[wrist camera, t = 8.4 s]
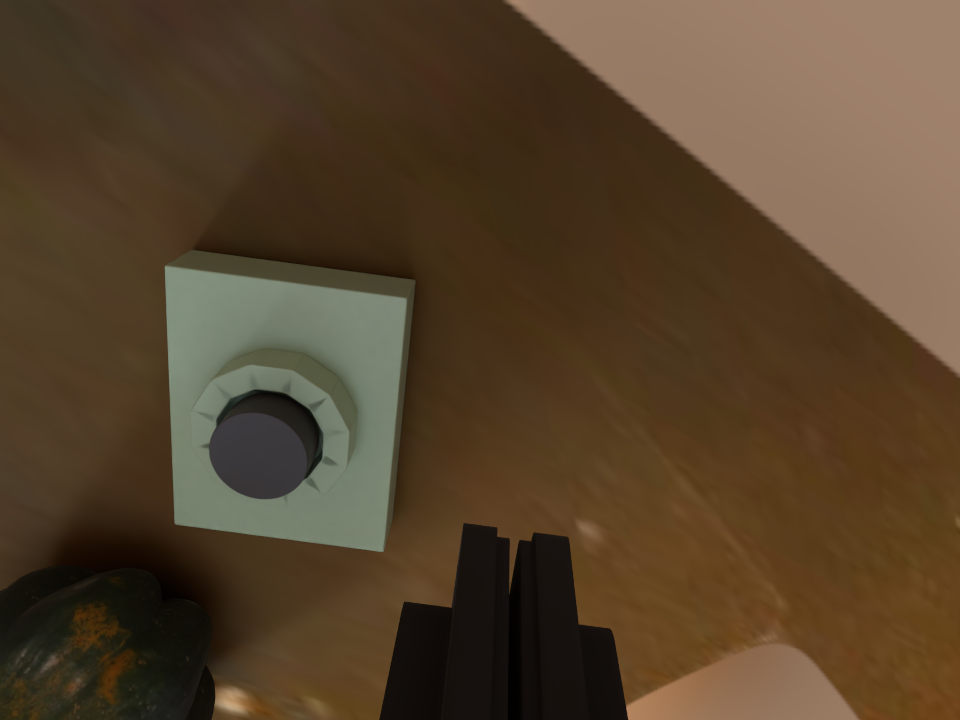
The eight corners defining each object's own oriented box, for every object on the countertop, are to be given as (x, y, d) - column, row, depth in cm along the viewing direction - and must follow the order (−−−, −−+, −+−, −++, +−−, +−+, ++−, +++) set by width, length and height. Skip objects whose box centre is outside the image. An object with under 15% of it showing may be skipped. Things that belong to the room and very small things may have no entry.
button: (224, 386, 33) (207, 405, 31) (321, 399, 33) (309, 419, 31) (225, 469, 35) (209, 493, 33) (317, 481, 35) (306, 505, 33)
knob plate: (191, 249, 36) (143, 277, 31) (415, 279, 36) (401, 312, 31) (196, 493, 41) (156, 548, 36) (392, 519, 41) (377, 577, 36)
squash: (301, 727, 40) (3, 844, 27) (155, 844, 45) (-153, 987, 33) (212, 507, 46) (-64, 521, 34) (93, 632, 51) (-186, 684, 39)
